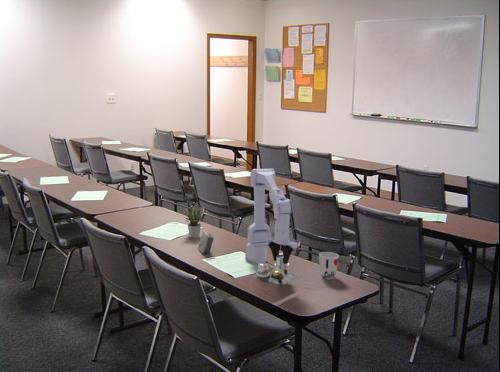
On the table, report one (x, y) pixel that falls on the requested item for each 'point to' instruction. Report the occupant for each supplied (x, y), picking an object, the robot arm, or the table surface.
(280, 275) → the carrier
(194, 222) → the house plant
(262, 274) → the silver rounded piece
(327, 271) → the cup
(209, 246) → the electrical switch
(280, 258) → the gear
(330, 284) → the table surface
